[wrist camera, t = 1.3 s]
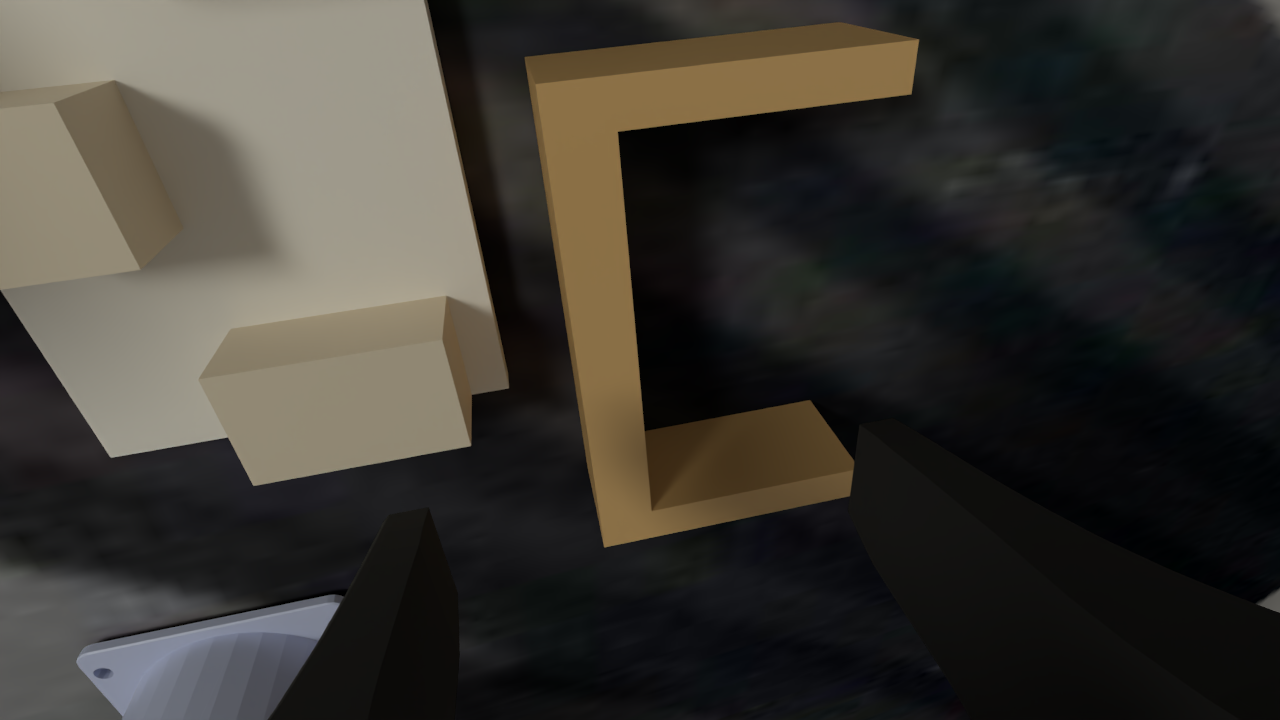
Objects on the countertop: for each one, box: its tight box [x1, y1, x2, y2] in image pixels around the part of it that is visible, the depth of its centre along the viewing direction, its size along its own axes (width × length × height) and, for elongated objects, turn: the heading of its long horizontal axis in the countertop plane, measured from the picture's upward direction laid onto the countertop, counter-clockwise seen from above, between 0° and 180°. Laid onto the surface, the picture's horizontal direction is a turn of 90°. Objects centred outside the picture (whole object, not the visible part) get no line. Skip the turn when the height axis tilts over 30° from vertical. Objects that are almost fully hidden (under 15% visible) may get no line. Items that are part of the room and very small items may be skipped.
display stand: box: [0, 0, 509, 486], centre depth 13 cm, size 10×14×3 cm
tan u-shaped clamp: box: [525, 22, 919, 547], centre depth 17 cm, size 7×12×3 cm, turn 4°
